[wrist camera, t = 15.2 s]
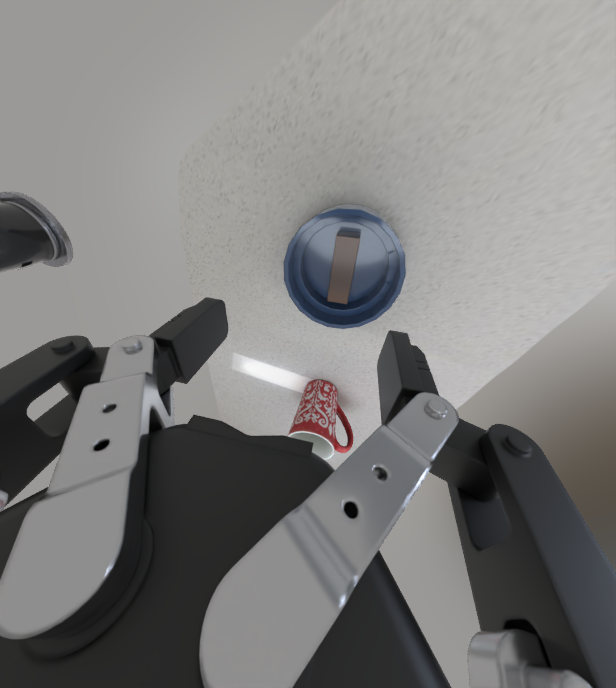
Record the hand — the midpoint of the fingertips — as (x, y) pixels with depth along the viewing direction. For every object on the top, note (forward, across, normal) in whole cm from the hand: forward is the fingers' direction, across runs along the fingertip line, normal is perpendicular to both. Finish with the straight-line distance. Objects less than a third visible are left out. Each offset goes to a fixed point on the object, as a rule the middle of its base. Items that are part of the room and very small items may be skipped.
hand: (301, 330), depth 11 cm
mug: (+26, -3, +33) cm, 42 cm away
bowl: (+26, -1, +4) cm, 26 cm away
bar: (+25, -1, +4) cm, 25 cm away
